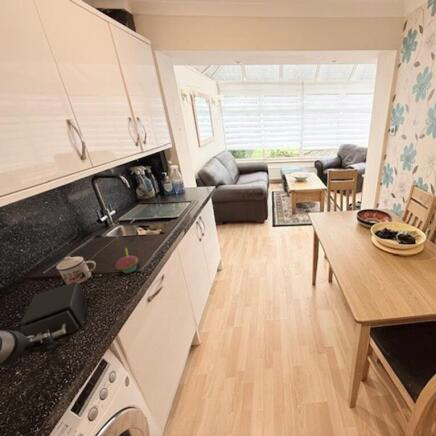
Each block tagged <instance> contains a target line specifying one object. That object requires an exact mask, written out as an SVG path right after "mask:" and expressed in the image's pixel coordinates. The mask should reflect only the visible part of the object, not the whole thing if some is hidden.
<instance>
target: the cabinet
mask: <svg viewBox="0 0 436 436" xmlns="http://www.w3.org/2000/svg"><path fill="white" fill-rule="evenodd" d="M87 304H88V298H87V297H86V294H85V293H84V291H83V289H82V288H81V286H80V283H79V284H78V283H77V282H74V283H70V284H65V285H61V286H59V287H55V288H52V289H49V290H45V291H43V292H40V293H36V294H34V295H33V297H32V299H31V301H30V303H29V305H28V306H27V309H26V311H25V313H24V315H23V316H22V318H21V320H20V322H19V324H20V326H21V327H22V328H23V327H24V326H26V325H29V322H32V321H35V320H38V319H40V318H43V317H46V316H49V315H52V314H54V313H57V312H60V311H63V310H65V309H68V310H69V311H70V313H71V315H72V316H73V318H74V319H75V321H76V322H77V325H78V326H79V328H80V327H83V324H84V318H85V316H86V315H85V314H86V309H87V306H88V305H87Z"/></svg>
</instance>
